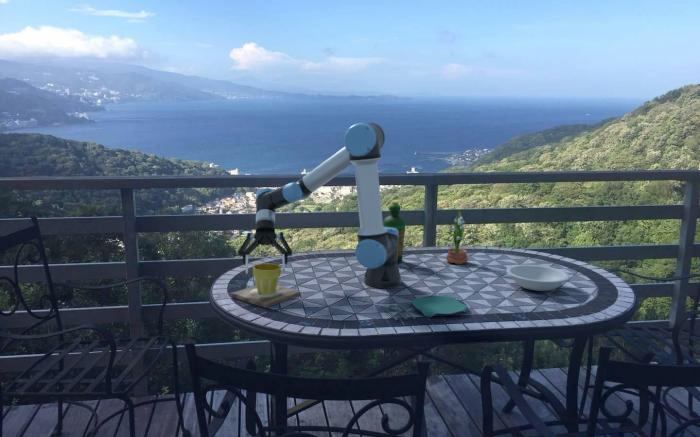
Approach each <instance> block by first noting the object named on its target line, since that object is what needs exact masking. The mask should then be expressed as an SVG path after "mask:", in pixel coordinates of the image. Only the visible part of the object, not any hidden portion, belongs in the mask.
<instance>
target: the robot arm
mask: <svg viewBox="0 0 700 437" xmlns="http://www.w3.org/2000/svg"><path fill="white" fill-rule="evenodd" d="M385 142H386V134H385V131H384V129H383V128H382V126H380V125H379V124H377V123H374V122H357V123H355V124H353V125H351V126H350V127H348V129H347V130H346V132H345V134H344V136H343V144H344V147H342V148H341V149H339V150H338V151H336V153H334V154H333V155H331V156H330V157H329V158H327V159H326V160H325V161H323V162H322V163H320V164H319V165H317V166H316V167H315V168H314V169H313V170H311V171H309V172H308V173H307V174H305V175H304V176H303V177H301V178H300V179H299V180H297V181H296V182H294V181H293V182H289V183H287V184H285V185H283V186H281V187H278V188H276V189H273V188H269V187H265V188H264V187H263V188H259V190H258V191H256V192H257V193H256V197H255V198H256V199H255V208H256V209H255V211H256V212H255V233H251V232H247V234H246V238H245V240H244V241H243V242H242V245H241V246H240V247H239V249H238V251H237V254H238V257H241V258H242V265H244V266H245V274H246V275H247V274H248V273H249V255H250V254H251V253H252V252H254V250H255V249H256V248H257V247H259V246H260V245H261V246H272V247H274V248H275V250H277V251H278V252H279V253H280V254H281V255H282V258H281V259H282V262H281V263H282V273H283V274H284V273H285V272H286V270H285V269H286V268H285V266H286V265H288V263H289V262H288V257H290V256H293V249H292V248H291V247H290V245H289V244H288V241H287V240H286V239H285V236H284V233H283V232H281V231H280V233H276V210H278V209H281V208H283V207H286V206H288V205H291V204H294V203H296V202H300V201H302V200H306V199H308V198H309V197H310V196H311V195H312V194H313V193H314V192H315V191H316V190H318V189H320V188H321V187H323V186H324V185H326V184H327V183H328V182H330V181H331V180H332V179H334V178H335V177H337V176H338V175H339V174H341V173H342V172H344V171H345V170H346V169H348V168H350V167H351V166H352V165H353V166H354V175H355V185H356V186H355V187H356V188H355V189H356V196H357V206H358V218H359V225H360V226H359V230H358V231H357V232H356V235H357V236H356V239H357V244H356V246H355V250H354V254H355V256H354V257H355V258H356V260H357V262H358V263H359V264H360V265H361V266H363V267H364V268H365V269H366V271H365V274H364V276H363V278H364V279H363V282H364V284H365V285H367V286H370V287H373V288H379V289H380V288H381V289H382V288H383V289H385V288H386V289H387V288H389V289H390V288H395V287H398V286H400V285H401V284H402V276H401V273H400V269H399V266H398V263H397V260H398V238H399V235H398V230H397V229H396V228H390V227H383V221H384V219H383V213H382V211H383V210H382V202H381V191H380V179H379V171H378V170H379V167H378V163H379V162H380V160H381V159H382V155H381V149H382V148H383V147H384V144H385ZM253 239H254V241H253V242H252V243H251V241H252V240H253ZM276 239H278V240H279V241H280V243H281V244H282V245H281V244H280V243H279V242H278V241H277V240H276ZM250 243H251V244H250ZM249 244H250V245H249Z"/></svg>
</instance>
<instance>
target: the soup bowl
mask: <svg viewBox="0 0 700 437" xmlns="http://www.w3.org/2000/svg"><path fill="white" fill-rule="evenodd" d="M506 273H507V274H508V275H510V277H511V279H512V280H513V282H514V283H515V284H516V285H518V286H519V287H521V288H524V289H527V290H531V291H537V292H538V291H539V292H547V291H548V292H549V291H553V290H555V289H557V288H559V287H560V286H562V285H563V284H564V282H567V281H569V279H570V274H569V273H567V271H563V270H561V269H558V268H556V267H551V266H545V265H541V264H540V265H539V264H538V265H537V264H517V265H511V266H509V267H507V268H506Z"/></svg>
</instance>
